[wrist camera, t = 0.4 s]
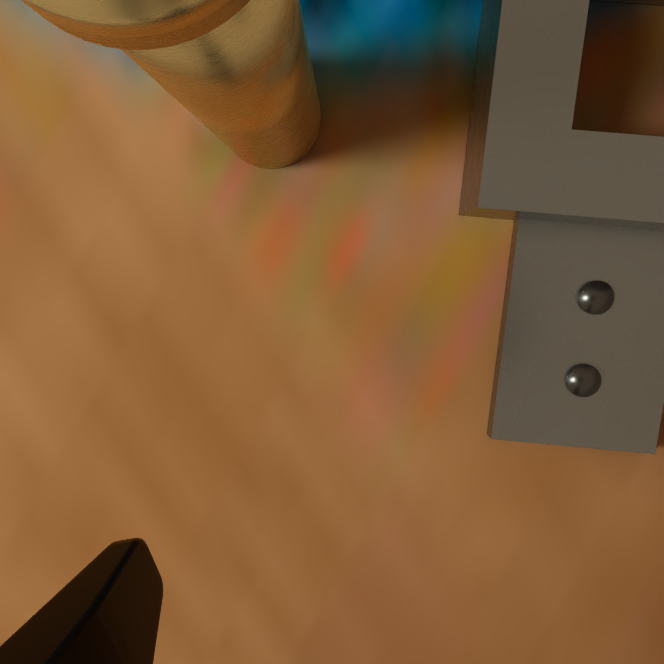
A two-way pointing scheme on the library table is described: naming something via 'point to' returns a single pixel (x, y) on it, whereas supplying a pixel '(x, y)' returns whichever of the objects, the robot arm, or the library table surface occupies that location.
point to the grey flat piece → (566, 239)
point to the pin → (215, 64)
